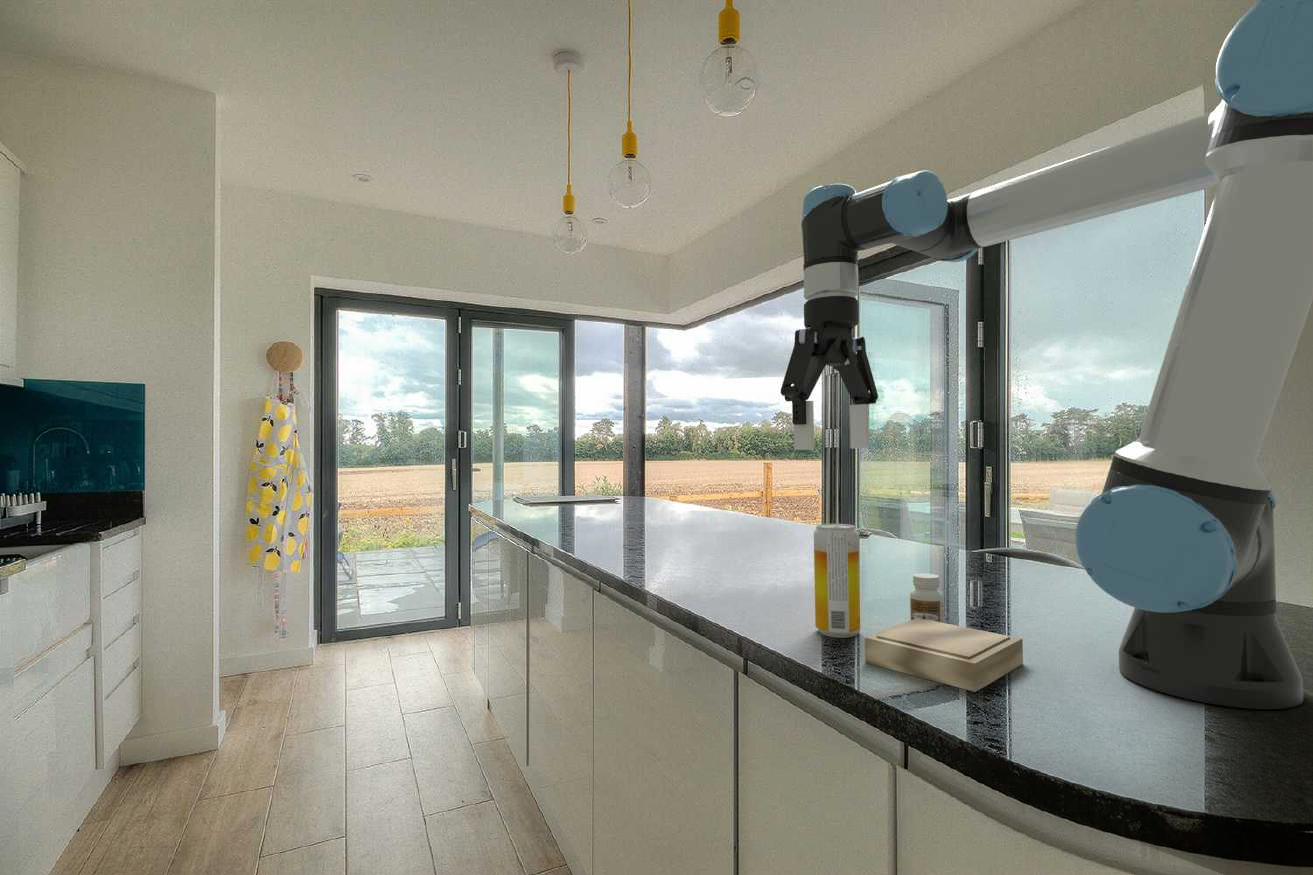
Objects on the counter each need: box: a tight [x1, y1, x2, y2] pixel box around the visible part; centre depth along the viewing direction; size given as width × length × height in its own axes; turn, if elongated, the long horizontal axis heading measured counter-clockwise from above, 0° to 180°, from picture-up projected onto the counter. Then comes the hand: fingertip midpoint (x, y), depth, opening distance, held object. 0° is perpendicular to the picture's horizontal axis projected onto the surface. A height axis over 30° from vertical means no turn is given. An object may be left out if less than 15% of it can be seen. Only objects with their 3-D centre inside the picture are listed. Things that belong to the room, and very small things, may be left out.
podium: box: [864, 618, 1024, 693], centre depth 78 cm, size 13×13×3 cm
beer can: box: [813, 523, 861, 639], centre depth 91 cm, size 6×6×15 cm
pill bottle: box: [909, 572, 945, 623], centre depth 91 cm, size 4×4×8 cm
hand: (833, 449), depth 91 cm, fingers open, 13 cm apart
